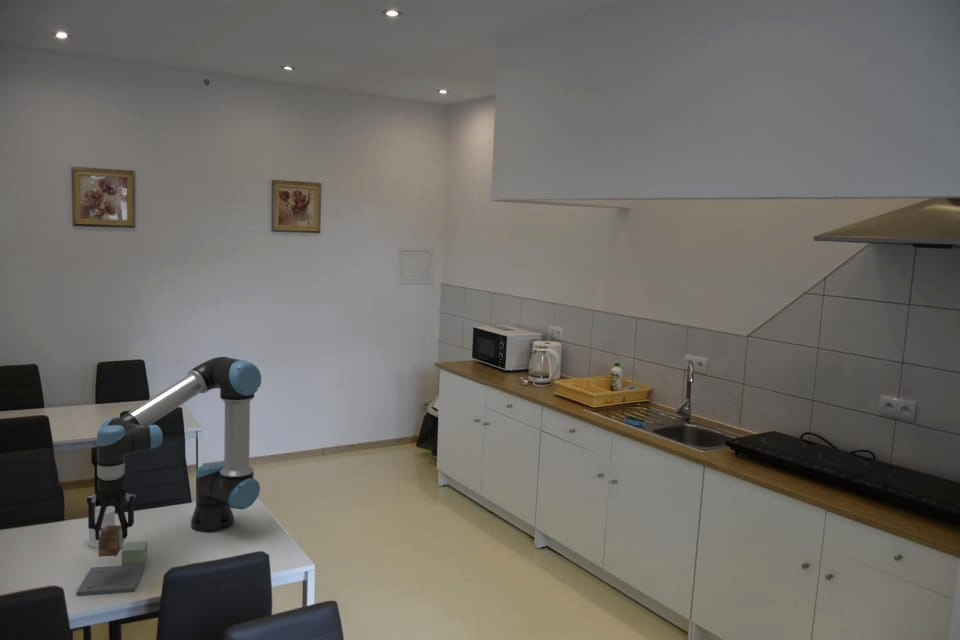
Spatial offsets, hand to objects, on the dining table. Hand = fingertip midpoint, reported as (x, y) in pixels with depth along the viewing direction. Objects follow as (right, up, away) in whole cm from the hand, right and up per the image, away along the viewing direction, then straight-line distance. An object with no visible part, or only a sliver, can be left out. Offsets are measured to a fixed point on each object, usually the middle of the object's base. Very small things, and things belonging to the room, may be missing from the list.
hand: (111, 548), depth 221 cm
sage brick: (0, -9, +14) cm, 17 cm away
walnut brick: (0, 0, 0) cm, 0 cm away
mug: (-17, -7, +26) cm, 32 cm away
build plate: (0, -11, +1) cm, 11 cm away
